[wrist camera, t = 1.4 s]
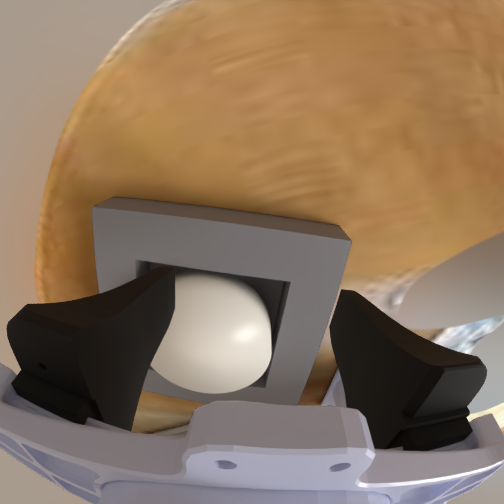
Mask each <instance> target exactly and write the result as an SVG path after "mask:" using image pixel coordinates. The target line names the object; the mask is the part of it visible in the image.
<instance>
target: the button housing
mask: <svg viewBox="0 0 504 504" xmlns="http://www.w3.org/2000/svg"><path fill="white" fill-rule="evenodd" d="M92 217H93V237H94V250H95V262H96V271H97V280H98V288H99V294H100V293H103V292H106V291H109V290H111V289H114V288H116V287H119V286H121V285H123V284H125V283H127V282H130V281H132V280H134V279H136V278H138V277H140V276H142V275H144V274H146V273H147V272H149V271H151V270H153V269H155V268H158V267H160V266H168V267H174V268H175V274H177V273H179V272H182V271H185V270H190V269H201V270H208V271H215V272H222V273H229V274H232V275H234V276H236V277H238V278H240V279H241V280H243V281H245V282H246V283H248V284H249V285H250V286H251V287H253V288H254V289H255V290H256V291H257V292H258V294H259V295H260V296H261V298H262V299H263V300H264V302H265V304H266V306H267V308H268V311H269V314H270V319H271V351H272V353H271V359H270V362H269V365H268V367H267V369H266V371H265V372H264V373H263V375H262V376H261V377H260V378H259V379H258V380H256V381H255V382H254V383H252V384H251V385H249V386H247V387H245V388H242V389H240V390H237V391H233V392H228V393H218V394H212V393H201V392H196V391H192V390H189V389H185V388H183V387H180V386H178V385H176V384H174V383H172V382H170V381H169V380H167V379H165V378H164V377H163V376H161V375H160V374H159V373H157V372H156V371H155V370H154V369H153V368H152V367H151V366H150V367H149V369H148V372H147V375H146V378H145V381H144V384H143V387H142V390H144V391H148V392H152V393H157V394H161V395H165V396H170V397H175V398H180V399H185V400H190V401H196V402H202V403H208V404H209V403H211V402H214V401H247V402H256V403H268V404H282V405H298V402H299V400H300V398H301V395H302V393H303V390H304V388H305V385H306V383H307V380H308V377H309V375H310V372H311V370H312V367H313V364H314V362H315V359H316V356H317V353H318V351H319V348H320V345H321V342H322V339H323V336H324V333H325V330H326V327H327V324H328V321H329V318H330V315H331V312H332V309H333V306H334V303H335V299H336V296H337V293H338V290H339V286H340V283H341V279H342V276H343V272H344V269H345V265H346V262H347V258H348V254H349V250H350V247H351V243H352V241H351V239H350V238H349V237H348V236H347V234H346V233H345V232H344V231H343V230H342V228H341V227H340V226H339V225H333V224H327V223H321V222H315V221H308V220H302V219H296V218H289V217H282V216H276V215H269V214H262V213H255V212H247V211H240V210H232V209H225V208H217V207H209V206H201V205H192V204H183V203H174V202H165V201H156V200H146V199H135V198H125V197H112V198H110V199H108V200H106V201H104V202H102V203H100V204H97V205H95V206H93V207H92Z"/></svg>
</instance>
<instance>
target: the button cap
mask: <svg viewBox="0 0 504 504" xmlns="http://www.w3.org/2000/svg"><path fill="white" fill-rule="evenodd" d="M271 353H272V351H271V319H270V314H269V311H268V308H267V306H266V304H265V302H264V300H263V299H262V298H261V296H260V295H259V294H258V292H257V291H256V290H255V289H254V288H253V287H251V286H250V285H249V284H248V283H246V282H245V281H243V280H241V279H240V278H238V277H236V276H234V275H232V274H229V273H222V272H215V271H208V270H201V269H190V270H185V271H182V272H179V273H177V274H175V310H174V313H173V317H172V320H171V322H170V325H169V328H168V330H167V332H166V334H165V336H164V338H163V340H162V342H161V344H160V346H159V348H158V350H157V352H156V354H155V356H154V358H153V360H152V362H151V365H150V366H151V367H152V368H153V369H154V370H155V371H156V372H157V373H159V374H160V375H161V376H163V377H164V378H165V379H167V380H169V381H170V382H172V383H174V384H176V385H178V386H180V387H183V388H185V389H189V390H192V391H196V392H201V393H212V394H218V393H228V392H233V391H237V390H240V389H242V388H245V387H247V386H249V385H251V384H252V383H254V382H255V381H256V380H258V379H259V378H260V377H261V376H262V375H263V373H264V372H265V371H266V369H267V367H268V365H269V362H270V359H271Z"/></svg>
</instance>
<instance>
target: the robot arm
mask: <svg viewBox="0 0 504 504" xmlns="http://www.w3.org/2000/svg"><path fill="white" fill-rule="evenodd" d="M174 310H175V268H174V267H168V266H160V267H158V268H155V269H153V270H151V271H149V272H147V273H146V274H144V275H142V276H140V277H138V278H136V279H134V280H132V281H130V282H127V283H125V284H123V285H121V286H119V287H116V288H114V289H111V290H109V291H106V292H103V293H100V294H97V295H93V296H89V297H85V298H81V299H77V300H72V301H66V302H58V303H44V304H27V305H25V306H24V307H23V308H22V309H21V310H20V311H19V312H18V313H17V314H16V315H15V316H14V317H13V318H12V319H11V320H10V321H9V322H8V324H7V336H8V340H9V343H10V346H11V348H12V350H13V353H14V355H15V357H16V359H17V361H18V363H19V366H20V368H21V371H20V372H19V374H18V375H16V374H15V373H14V372H13V371H12V370H11V369H10V368H8V367H6V366H5V365H3V364H1V363H0V448H1V449H3V450H4V451H5V452H7V453H8V454H10V455H11V456H12V457H14V458H15V459H16V460H18V461H19V462H21V463H22V464H24V465H25V466H27V467H28V468H30V469H31V470H33V471H34V472H36V473H38V474H39V475H41V476H42V477H44V478H45V479H47V480H49V481H50V482H52V483H54V484H56V485H57V486H59V487H61V488H63V489H64V490H66V491H68V492H70V493H72V494H74V495H76V496H78V497H80V498H82V499H84V500H86V501H88V502H90V503H92V504H446V503H447V502H448V501H449V500H451V499H453V498H455V497H458V496H460V495H462V494H464V493H466V492H468V491H470V490H472V489H474V488H476V487H477V486H478V485H480V484H481V483H482V482H484V481H485V480H486V479H487V478H489V477H490V476H491V475H492V474H494V473H495V472H496V471H497V470H498V469H499V468H500V467H502V466H503V465H504V435H503V433H502V431H501V429H500V427H499V425H498V424H497V422H496V420H495V418H494V416H493V415H492V414H487V415H484V416H481V417H478V418H476V419H473V420H472V421H471V422H468V420H467V418H466V417H467V416H468V415H469V414H470V411H469V409H468V408H467V406H468V405H469V403H470V402H471V401H472V399H473V398H474V397H475V396H476V394H477V393H478V392H479V390H480V389H481V387H482V386H483V384H484V382H485V379H486V376H487V369H486V367H485V366H484V364H483V363H482V361H481V360H480V359H479V358H478V357H477V356H473V355H469V354H465V353H461V352H457V351H454V350H451V349H448V348H446V347H443V346H440V345H438V344H435V343H433V342H431V341H429V340H427V339H425V338H423V337H421V336H419V335H417V334H415V333H413V332H412V331H410V330H408V329H407V328H405V327H403V326H402V325H400V324H399V323H397V322H396V321H395V320H393V319H392V318H390V317H389V316H388V315H386V314H385V313H384V312H382V311H381V310H380V309H378V308H377V307H376V306H375V305H373V304H372V303H371V302H369V301H368V300H367V299H366V298H364V297H363V296H362V295H360V294H359V293H357V292H355V291H352V290H343V289H341V292H340V295H339V299H338V302H337V305H336V308H335V311H334V314H333V317H332V320H331V324H330V326H329V328H330V337H331V344H332V348H333V352H334V355H335V359H336V362H337V366H338V369H337V371H336V373H335V376H334V378H333V380H332V382H331V384H330V387H329V389H328V391H327V393H326V395H325V397H324V399H323V401H322V403H321V406H302V405H282V404H268V403H256V402H247V401H214V402H211V403H209V404H206V405H204V406H201V407H199V408H196V409H195V411H194V413H193V415H192V417H191V419H190V423H189V427H188V432H187V436H178V435H158V434H145V433H135V432H131V430H132V425H133V421H134V417H135V413H136V409H137V405H138V401H139V398H140V394H141V391H142V387H143V384H144V381H145V378H146V375H147V372H148V369H149V367H150V365H151V362H152V360H153V358H154V356H155V354H156V352H157V350H158V348H159V346H160V344H161V342H162V340H163V338H164V336H165V334H166V332H167V330H168V328H169V325H170V322H171V320H172V317H173V313H174Z"/></svg>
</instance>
